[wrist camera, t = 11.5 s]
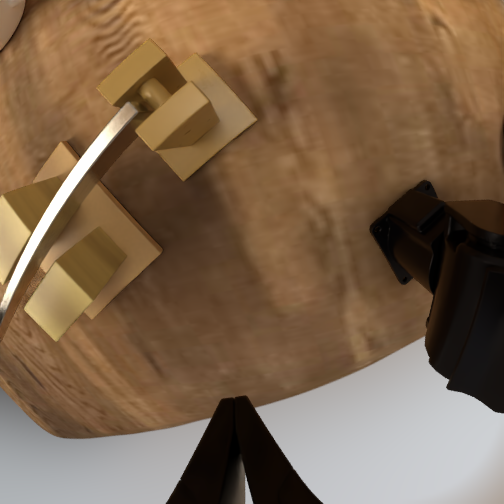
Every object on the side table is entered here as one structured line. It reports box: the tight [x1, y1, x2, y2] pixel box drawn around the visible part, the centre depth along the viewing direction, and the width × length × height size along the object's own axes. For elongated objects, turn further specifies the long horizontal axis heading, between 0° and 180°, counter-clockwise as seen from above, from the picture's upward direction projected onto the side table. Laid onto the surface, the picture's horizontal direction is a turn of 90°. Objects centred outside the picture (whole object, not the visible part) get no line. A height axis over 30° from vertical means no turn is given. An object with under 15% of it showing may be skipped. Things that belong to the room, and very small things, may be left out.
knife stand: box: [97, 38, 258, 182], centre depth 12 cm, size 6×6×10 cm
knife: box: [0, 101, 154, 342], centre depth 11 cm, size 24×2×5 cm, turn 129°
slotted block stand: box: [0, 141, 163, 342], centre depth 16 cm, size 9×11×7 cm
